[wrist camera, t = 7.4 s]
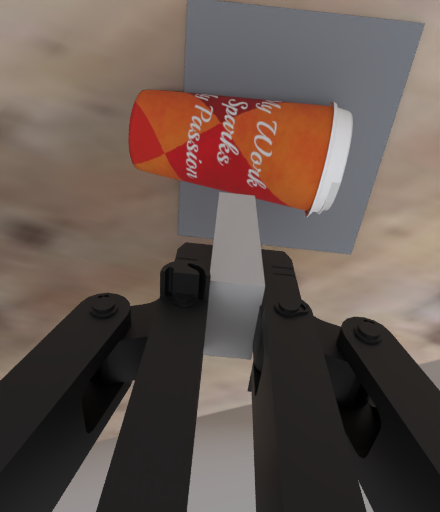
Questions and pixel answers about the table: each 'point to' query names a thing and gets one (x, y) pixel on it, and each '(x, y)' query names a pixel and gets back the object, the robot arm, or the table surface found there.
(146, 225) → the table surface
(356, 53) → the rubber mat
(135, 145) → the paper cup
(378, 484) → the robot arm
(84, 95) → the table surface
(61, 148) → the table surface
